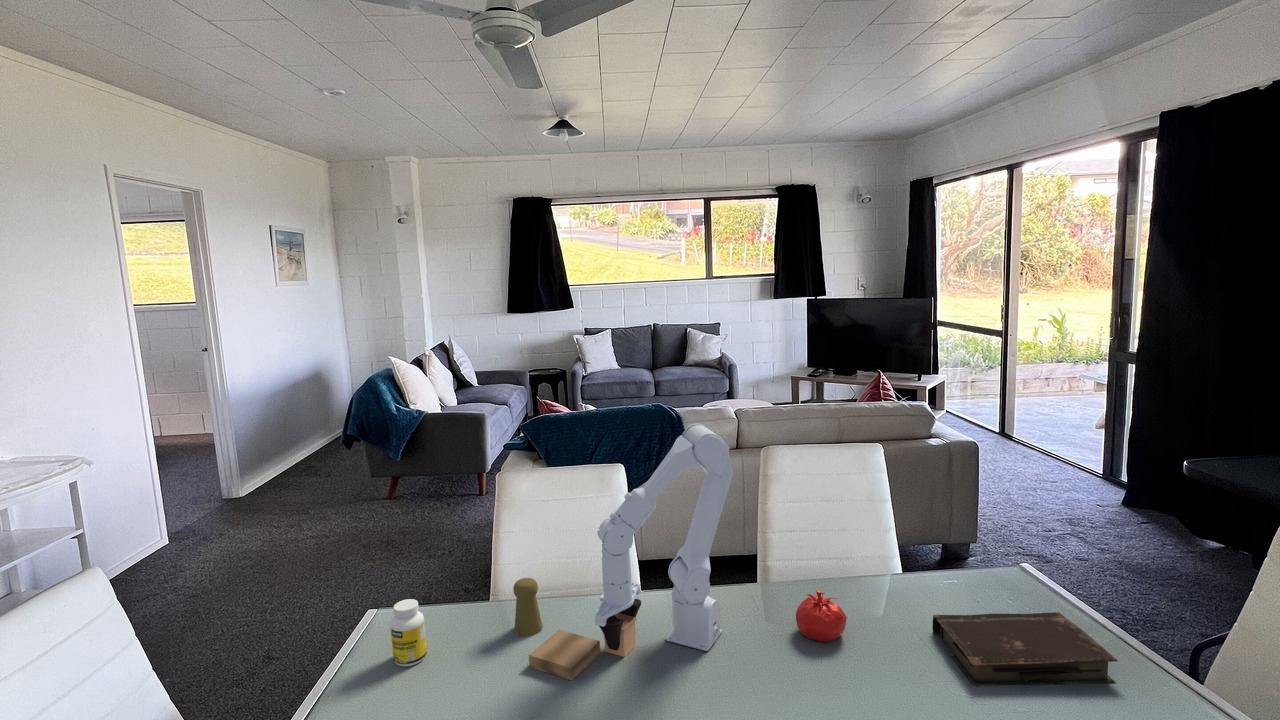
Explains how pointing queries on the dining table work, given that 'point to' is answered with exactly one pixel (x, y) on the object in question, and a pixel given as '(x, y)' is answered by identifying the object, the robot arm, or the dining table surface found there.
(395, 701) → the dining table surface
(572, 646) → the walnut block
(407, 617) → the pill bottle
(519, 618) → the olive pawn
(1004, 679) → the diary
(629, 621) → the square wooden stamp
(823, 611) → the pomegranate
